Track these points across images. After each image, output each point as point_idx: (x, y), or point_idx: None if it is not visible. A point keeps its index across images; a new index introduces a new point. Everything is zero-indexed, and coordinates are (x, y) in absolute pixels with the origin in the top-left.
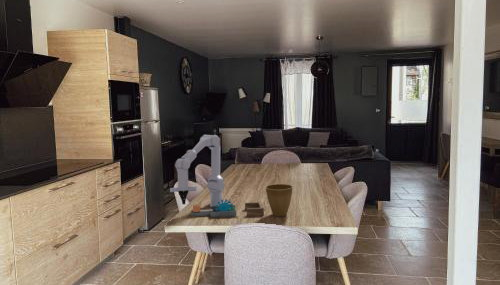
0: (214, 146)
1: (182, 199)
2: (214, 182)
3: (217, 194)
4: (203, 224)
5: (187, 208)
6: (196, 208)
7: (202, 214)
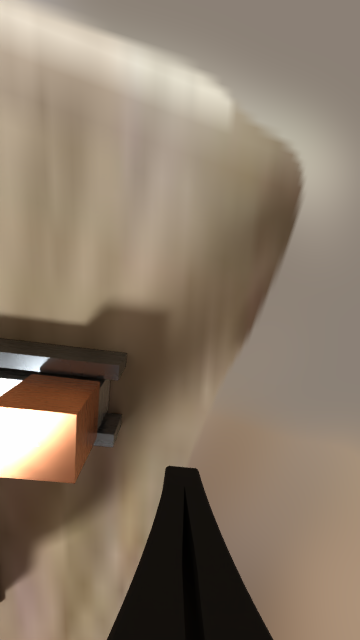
0: None
1: (208, 553)
2: None
3: None
4: (12, 82)
5: None
6: (46, 396)
7: (26, 347)
